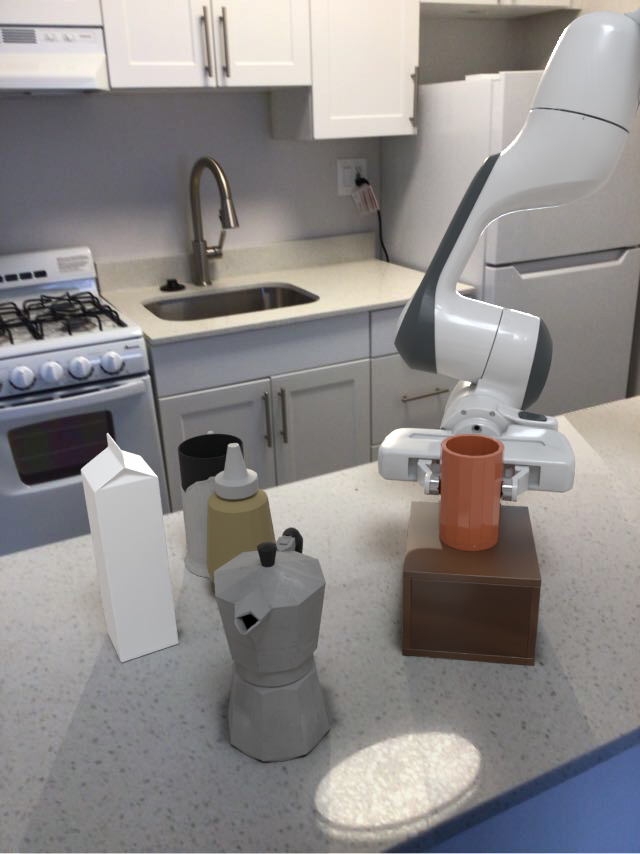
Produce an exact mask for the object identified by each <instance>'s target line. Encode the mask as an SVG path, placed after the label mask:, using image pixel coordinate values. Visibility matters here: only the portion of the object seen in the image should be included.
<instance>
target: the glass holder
mask: <svg viewBox="0 0 640 854" xmlns="http://www.w3.org/2000/svg"><path fill="white" fill-rule="evenodd" d="M231 443H238V444H239V446H240V450H241V453H242V456H243V459H244V460H245V452H244V442H243V440H242V439H241V438H239V437H238V436H236V435H233V434H227V433H214V431H213V430H207V434H201V435H197V436H193V437H190V438H187V439H185V440H184V441H182V442H181V443H179V445H178V447H177V455H178V464H179V474H180V482H179V488H180V497H181V505H182V514H183V515H182V516H183V524H184V533H185V541H186V549H187V552H186V556H185V559H184V566H185V567H186V569H187V570H188V572H190V573H191V574H193V575H195V576H198V577H202V578H207V579H211V577H210V575H209V573H208V569H207V512H208V499H209V498H210V496H211V495H212V494H213V493H214V492H216V491H215V482H214V478H215V477H216V475H217V474H219V473H220V472H222V471H224V469H225V462H226V455H227V448H228V445H229V444H231Z"/></svg>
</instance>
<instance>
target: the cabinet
mask: <svg viewBox="0 0 640 854" xmlns="http://www.w3.org/2000/svg"><path fill="white" fill-rule="evenodd" d="M438 516H439V501H437V502H436V501H417V500H412V501H411V504H410V512H409V519H408V528H407V533H406V534H407V535H406V542H405V550H404V560H403V567H402V621H401V622H402V624H401V625H402V627H401V628H402V630H401V631H402V633H401V635H402V637H401V638H402V642H401V644H402V646H401V647H402V648H401V649H402V650H401V654H402V656H408V657H420V658H421V657H422V658H433V659H435V658H436V659H444V660H445V659H446V660H457V661H472V662H482V663H483V662H484V663H486V662H487V663H494V664H495V663H496V664H497V663H498V664H509V665H510V664H511V665H521V666H522V665H523V666H533V667H534V666H535V661H536V651H537V650H536V649H537V637H538V626H539V613H540V602H541V590H542V589H541V588H542V576H541V571H540V564H539V559H538V553H537V547H536V544H535V538H534V532H533V527H532V521H531V515H530V509H529V506H526V505H525V506H523V505H507V504H506V505H502V504H501V517H500V533H499V540H498V542H497V543H496V544H495V545H494V546H493V547H491V548H489V549H486V550H481V551H463V550H458V549H454V548H452V547H449V546H447V545H446V544H444V543H443V542H442V541H441V540H440V538H439V535H438V534H439V530H438Z"/></svg>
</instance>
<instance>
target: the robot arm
mask: <svg viewBox="0 0 640 854" xmlns="http://www.w3.org/2000/svg"><path fill="white" fill-rule="evenodd" d="M536 87H537V88H536V90H535V93H534V96H533V99H532V101H531V104H530V107H529V111H528V113H527V117H526V119H525V121H524V124H523V126H522V128H521V130H520V131H519V133H518V134H517V135H516V137H515V139H514V140H512V142H511V143H510V144H509V145H508V146H507V147H506V148H505V149H504V150H503V151H500V152H497V153H492V154H489V155H488V157H486V158H485V160H483V161H482V163H481V165H480V166H479V168H478V169H477V171H476V172H475V174H474V175H473V177H472V179H471V181H470V183H469V185H468V186H467V189H466V191H465V192H464V194H463V196H462V198H461V200H460V203H459V204H458V206H457V208H456V209H455V210H456V211H455V212H454V215H453V216H452V218H451V220H450V222H449V225H448V227H447V228H446V230H445V232H444V234H443V237H442V239H441V241H440V242H439V244H438V247H437V249H436V251H435V253H434V255H433V257H432V259H431V262H430V263H429V265H428V267H427V270H426V271H425V273H424V275H423V278H422V279H421V281H420V283H419V285H418V287H417V288H416V289H415V291H414V292H413V294H412V295H411V297H410V298H409V299H408V301H407V303H406V304H405V305H404V307H403V309H402V311H401V312H400V315H399V317H398V319H397V323H396V327H395V329H394V330H395V331H394V342H393V344H394V347H395V349H396V351H397V353H398V355H399V356H400V357H401V359H402V360H403V362H404V363H405V364H406V366H408V367H409V369H410V370H414V371H419V372H424V373H430V374H435V375H437V374H439V375H443V376H447V377H449V378H454V379H456V380H459V381H458V382H457V383H456V384H455V386H454V387H453V389H452V390H451V392H450V394H449V395H448V398H447V401H446V403H445V404H446V405H445V408H444V412H443V416H442V419H441V423H440V426H439V429H436V428H435V429H434V428H420V427H419V428H417V427H402V428H397V429H394V430H393V431H391V432H390V433H389V434H388V435H386V436H385V437H384V439H383V440H382V441H381V444H380V445H379V447H378V449H377V450H378V451H377V472H378V476H379V477H381V478H383V479H384V480H387V481H399V482H400V481H401V482H412V483H418V484H419V485H420V486H421V487H422V488H423V494H424V495H428V496H430V495H431V496H439V483H440V444H441V443H442V441H443V440H444V439H446V438H448V437H450V436H454V435H459V434H479V435H486V436H490V437H493V438H496V439H497V440H499V441H501V442H502V443H503V445H504V446H505V451H504V467H503V483H502V498H501V501H506V502H518V496H520V495H521V494H523V493H525V492H527V491H534V492H546V493H547V492H548V493H559V494H563V493H567V492H569V491H571V490H573V488H574V482H575V475H576V474H575V471H576V456H575V454H574V450H573V447H572V445H571V443H570V441H569V439H568V438H567V436H565V434H563V432H561V431H559V422H558V419H557V418H556V417H553V416H549V415H544V414H540V413H534V412H529V411H527V410H528V409H529V408H531V407H532V406H533V405H534V404H536V403H537V402H538V400H539V398H540V397H541V395H542V392H543V390H544V388H545V386H546V383H547V380H548V377H549V374H550V370H551V366H552V360H553V352H554V351H553V349H554V342H553V339H552V336H551V335H552V334H551V333H550V331H549V330H550V329H549V327H548V326H547V324H546V322H545V320H543V319H542V317H539V316H535V315H533V314H530V313H526V312H523V311H519V310H515V309H512V308H508V307H505V306H503V307H502V306H500V305H499V306H498V305H495V304H491V303H488V302H484V301H481V300H477V299H474V298H470V297H467V296H463V295H461V294H460V293H459V291H458V290H457V284H458V282H459V280H460V278H461V276H462V274H463V272H464V270H465V268H466V267H467V264H468V262H469V260H470V258H471V257H472V254H473V252H474V251H475V249H476V246H477V245H478V242H479V241H480V239H481V237H482V235H483V233H484V231H485V230H486V229H487V227H488V226H490V224H491V223H492V222H494V221H495V220H497V219H499V218H501V217H503V216H506V215H509V214H511V213H516V212H522V211H530V210H540V209H548V208H556V207H562V206H567V205H571V204H574V203H578V202H580V201H583V200H585V199H587V198H589V197H591V196H593V195H594V194H596V193H597V192H598V191H600V190H601V189H602V188H603V187H604V186H605V185H606V184H607V183H608V182H609V181H610V179H611V177H612V176H613V174H614V172H615V169H616V167H617V165H618V164H619V161H620V159H621V156H622V155H623V152H624V150H625V147H626V144H627V141H628V138H629V135H630V133H631V131H632V126H633V124H634V120H635V118H636V116H637V115H636V114H637V112H638V109H639V107H640V6H639V7H638V8H636V9H634V10H632V11H628V12H623V13H621V12H617V11H611V10H599V11H598V10H597V11H592V12H587V13H585V14H582V15H580V16H578V17H576V18H575V19H574V20H572V21H571V22H570V23H569V24H568V25H567V26H566V28H565V29H564V30H563V32H562V34H561V36H560V37H559V39H558V41H557V43H556V45H555V47H554V49H553V52H552V53H551V54H550V56H549V59H548V61H547V64H546V65H545V68H544V71H543V73H542V75H541V78H540V79H539V83H538V84H537V86H536Z"/></svg>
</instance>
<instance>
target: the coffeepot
mask: <svg viewBox="0 0 640 854" xmlns="http://www.w3.org/2000/svg"><path fill="white" fill-rule="evenodd" d="M257 550H258V551H250V552H242V553H241V554H239V555H238V556H236V557H235V558H233V559H232V560H230V561H229V562H227V563H226V564H224V565H223V566H221V567H220V568H218V569H217V570H215V571H214V583H213V585H214V584H215V585H214V596H215V600H216V604H217V608H218V611H219V612H218V613H219V615H220V619H221V623H222V628H223V630H224V634H225V638H226V641H227V646H228V649H229V653H230V656H231V660H232V661H233V664H232V674H231V683H230V693H229V694H230V695H229V703H228V713H227V715H228V729H229V741H230V744H231V745H232V746H233V747H234V748H236V749H237V750H239V751H240V752H242V753H243V754H244V755H246V756H248V757H250V758H253V759H255V760H259V761H261V762H268V763H269V762H270V763H271V762H274V763H275V762H287V761H290V760H294V759H297V758H299V757H302V756H306V755H308V754H309V753H310V752H311V751H313V750H314V749H315V748H316V747H317V746H318V745H319V744H320V743H321V742H322V740H323V739H324V737H325V735H326V734H327V733H328V732H329V730H331V724H330V721H329V717H328V713H327V709H326V704H325V700H324V699H325V698H324V695H323V691H322V690H323V689H322V687H321V681H320V678H319V673H318V668H317V665H316V660H315V656H314V653H315V651H317V649H318V645H319V644H318V643H319V638H320V630H321V621H322V615H323V606H324V599H325V591H326V585H327V582H326V579H325V575H324V573H323V569H322V566H321V564H320V560H319V558H316V557H314V556H310V555H307V554H304V553H303V552H304V551H303V550H304V538H303V536H302V534H301V533H300V531H299V530H298V529H297V528H296V527H287V528H286V529H284V531H283V532H282V534H281V536H279V537H278V538H277V540H276V544H275V543H272V542H262V543H260V544H259V545H257Z"/></svg>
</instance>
